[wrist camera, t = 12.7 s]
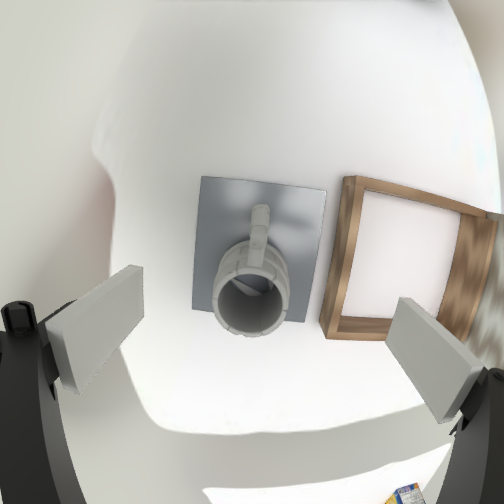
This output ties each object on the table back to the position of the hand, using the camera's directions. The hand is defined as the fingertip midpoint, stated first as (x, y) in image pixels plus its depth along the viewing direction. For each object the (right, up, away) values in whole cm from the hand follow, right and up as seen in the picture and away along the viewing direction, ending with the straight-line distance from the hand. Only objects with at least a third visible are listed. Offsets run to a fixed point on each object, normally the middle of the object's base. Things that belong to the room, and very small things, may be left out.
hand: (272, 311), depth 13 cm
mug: (-1, +3, +19) cm, 19 cm away
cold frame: (+18, +2, +19) cm, 26 cm away
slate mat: (-1, +3, +19) cm, 19 cm away
